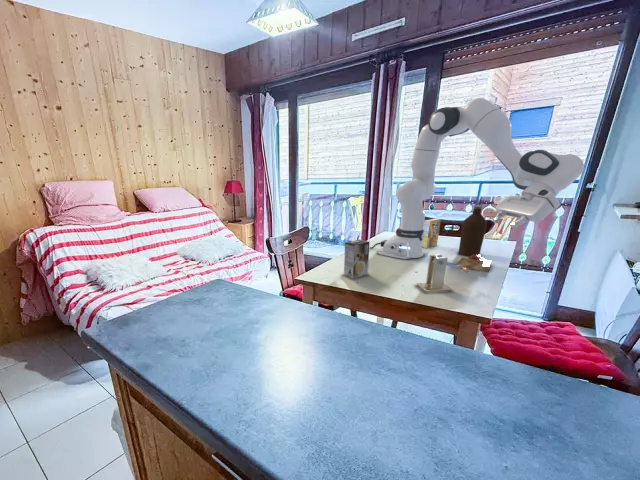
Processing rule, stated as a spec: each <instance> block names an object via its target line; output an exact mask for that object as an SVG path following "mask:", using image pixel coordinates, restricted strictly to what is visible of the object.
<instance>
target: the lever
mask: <svg viewBox="0 0 640 480" xmlns="http://www.w3.org/2000/svg"><path fill="white" fill-rule="evenodd" d="M435 258H439V257H436V256H435V257H434V259H433V261H432V262H433V263H434V261H435ZM446 266H449V267H452V268H456V269H458V270H461V271H463V272H464V273H468V272H469V270H470V269H468V268H465V267H463V266H461V265H458V264H455V263H452V262H448V261H447V265H446Z"/></svg>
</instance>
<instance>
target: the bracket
mask: <svg viewBox="0 0 640 480" xmlns="http://www.w3.org/2000/svg"><path fill="white" fill-rule="evenodd" d="M435 256H436V257H439V258H435V261H434V263H433V262H432V261H433V259H434V257H435ZM447 262H448V257H446V256H444V257H443V254H439V253H438V254H430V255H429V260H428V265H427V273H426V278H425V279H426V280H425V282H417V283H416V285H417V286H419V287H420V288H421V289H422V290H423V291H425V293H426V292H448V291H452V288H451V287H449V286H448V285H447V284H445V283H444V281H445V277H446V270H447V266H448V265H447Z"/></svg>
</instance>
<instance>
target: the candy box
mask: <svg viewBox="0 0 640 480" xmlns="http://www.w3.org/2000/svg"><path fill="white" fill-rule="evenodd" d="M441 223H442V219H440V218H432V219H425V220H424V228H423V229H424V237H423V240H422V248H424V249H429V248H432V247H436V246H438V242H439V241H438V240H439V236H440V235H439V234H440V229H441Z"/></svg>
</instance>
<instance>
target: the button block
mask: <svg viewBox="0 0 640 480" xmlns="http://www.w3.org/2000/svg"><path fill="white" fill-rule="evenodd" d="M457 265H461V266H463V267H465V268H467V269H468V270H476V271H483V272H488V271H489V270H490V268H491V265H492V260H487V259H485V258H484V257H482V256H481V258H480V259H479V260H476V259H471V256H467V257H464V256H463V257H461V259H460V260H459V261H458V263H457Z"/></svg>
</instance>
